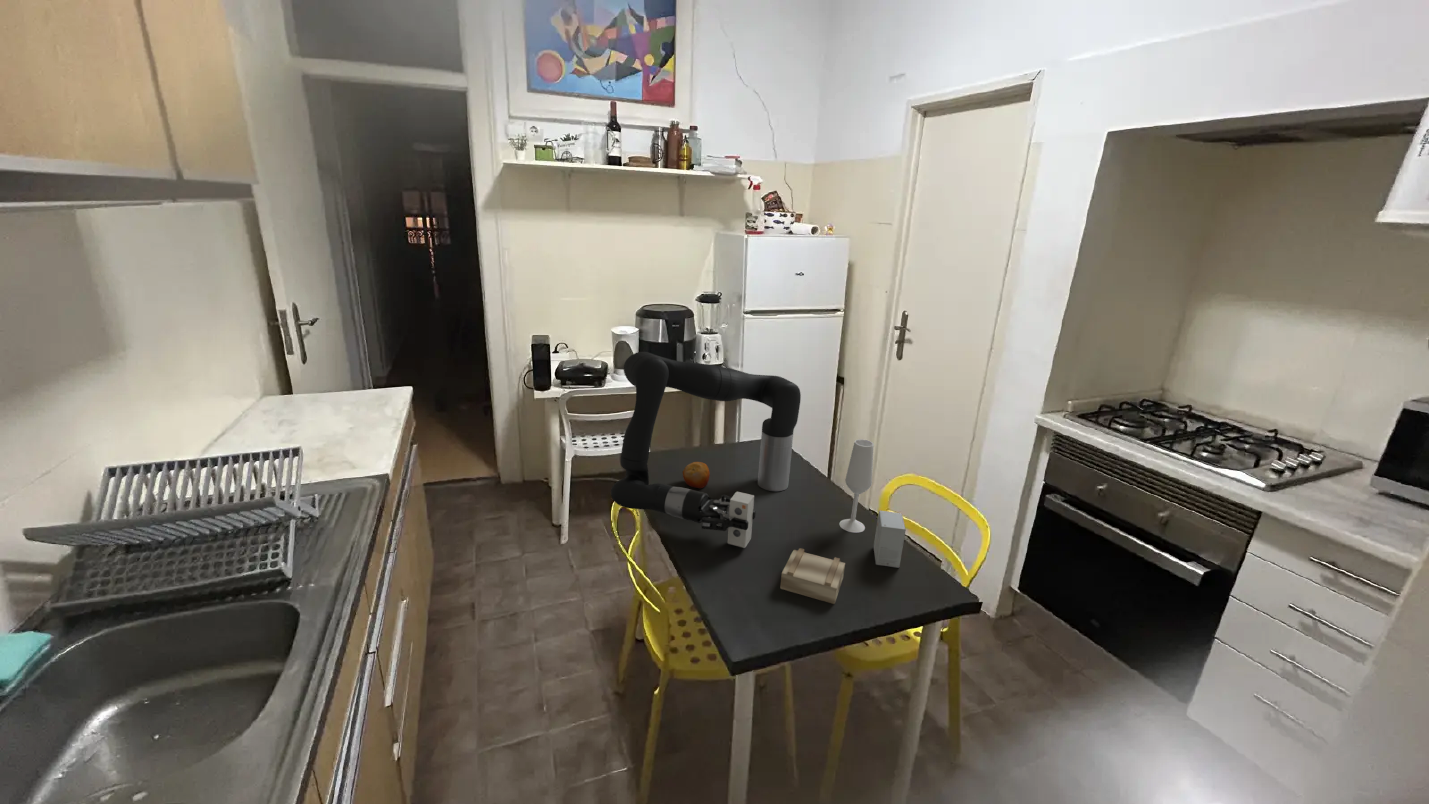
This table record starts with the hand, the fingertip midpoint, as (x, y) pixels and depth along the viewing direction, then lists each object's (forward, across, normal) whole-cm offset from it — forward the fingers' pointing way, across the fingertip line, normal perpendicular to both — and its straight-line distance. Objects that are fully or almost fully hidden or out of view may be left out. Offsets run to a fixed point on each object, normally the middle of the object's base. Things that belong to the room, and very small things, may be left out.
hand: (751, 520), depth 136 cm
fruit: (-25, +25, +9) cm, 36 cm away
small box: (+31, +12, +9) cm, 34 cm away
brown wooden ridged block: (+17, -6, +8) cm, 20 cm away
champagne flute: (+21, +23, +9) cm, 32 cm away
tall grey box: (-3, 0, +7) cm, 7 cm away
